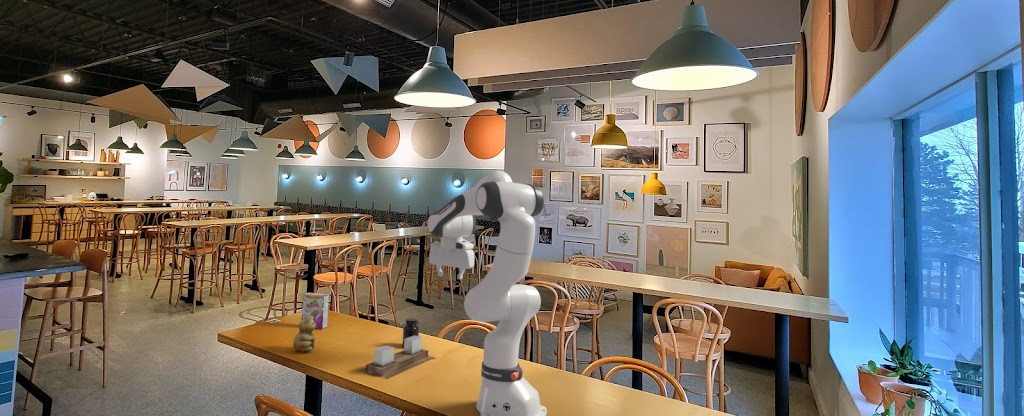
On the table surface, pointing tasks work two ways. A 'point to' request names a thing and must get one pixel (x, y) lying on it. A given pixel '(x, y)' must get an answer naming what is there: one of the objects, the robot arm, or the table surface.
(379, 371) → the brown wooden tray
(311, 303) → the candy bar box
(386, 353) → the block
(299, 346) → the decorative figurine
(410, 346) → the block
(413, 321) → the supplement bottle
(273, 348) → the table surface
